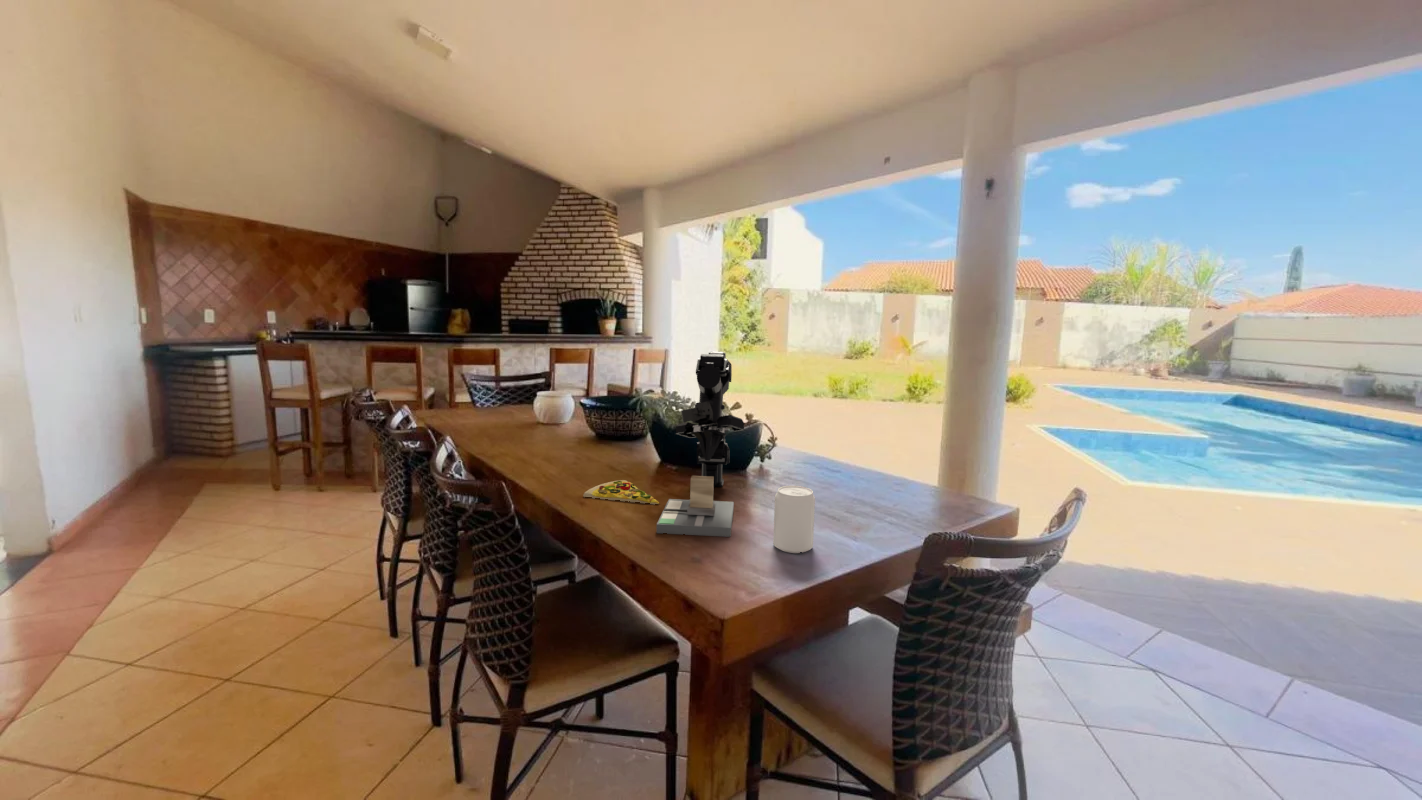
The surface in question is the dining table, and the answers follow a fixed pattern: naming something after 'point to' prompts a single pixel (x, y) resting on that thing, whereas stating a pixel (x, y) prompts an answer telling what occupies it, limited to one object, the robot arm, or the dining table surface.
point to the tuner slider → (700, 497)
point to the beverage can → (794, 519)
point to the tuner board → (696, 520)
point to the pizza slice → (620, 492)
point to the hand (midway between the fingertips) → (707, 460)
